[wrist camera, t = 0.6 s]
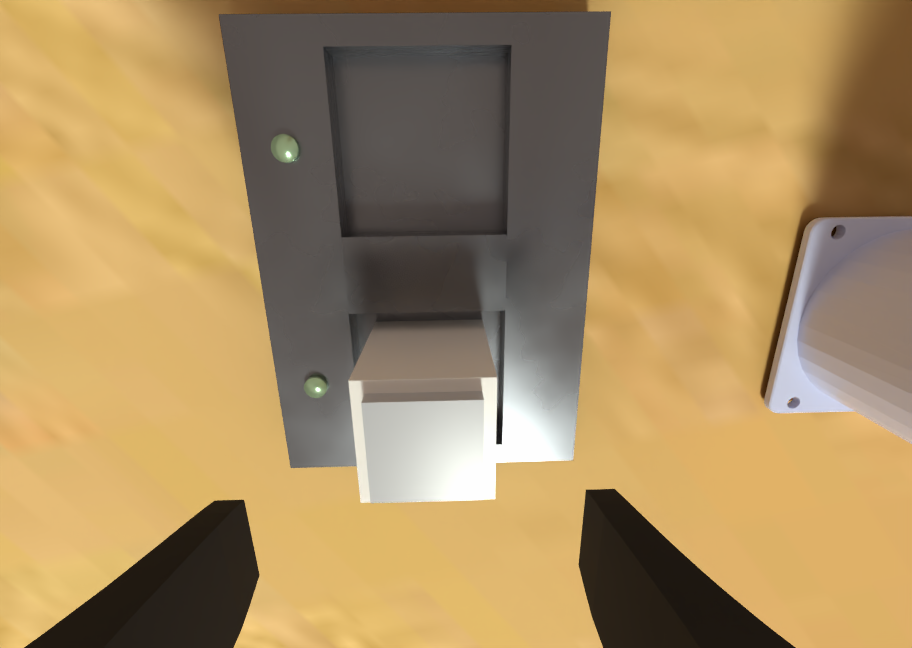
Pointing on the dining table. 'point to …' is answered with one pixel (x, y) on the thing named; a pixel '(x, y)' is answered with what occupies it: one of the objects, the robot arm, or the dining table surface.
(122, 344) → the dining table surface
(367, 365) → the beige rectangular block
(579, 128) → the panel
